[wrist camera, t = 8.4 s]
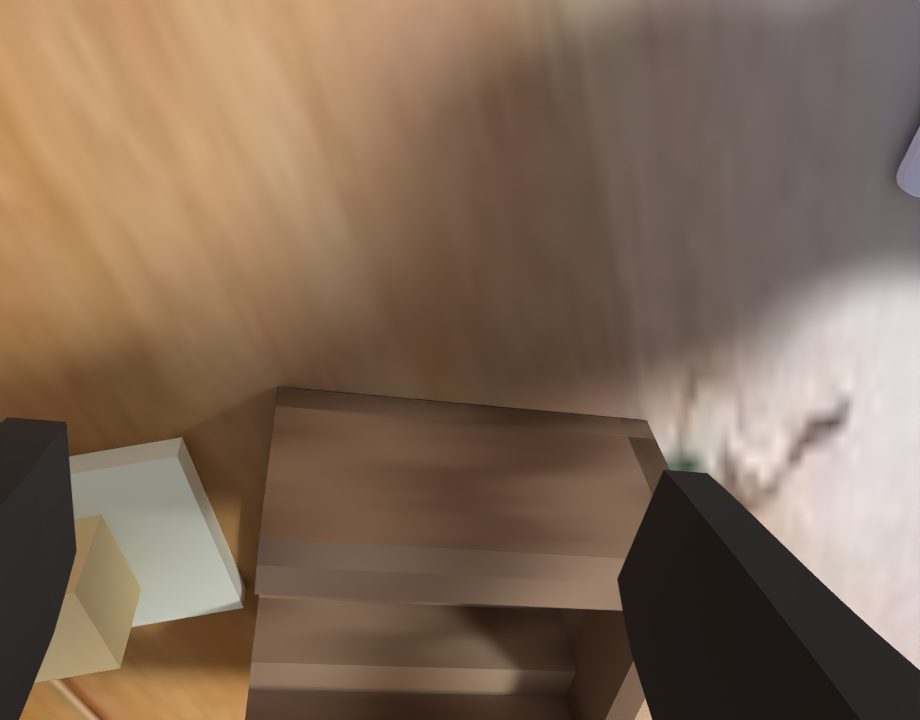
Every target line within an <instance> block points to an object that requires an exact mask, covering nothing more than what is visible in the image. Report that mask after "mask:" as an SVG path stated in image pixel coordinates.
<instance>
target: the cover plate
mask: <svg viewBox="0 0 920 720" xmlns="http://www.w3.org/2000/svg"><path fill="white" fill-rule="evenodd" d="M69 463H70V475H71V487H72V499H73V511H74V524H75V536H76V548H77V552H76V555H75V559H74V563H73V567H72V570H71V574H70V578H69V582H68V585H67V589H66V593H65V597H64V600H63V604H62V607H61V611H60V614H59V618H58V621H57V625H56V628H55V632H54V635H53V637H52V640H51V642H50V645H49V647H48V650H47V652H46V655H45V657H44V660H43V662H42V665H41V667H40V669H39V672H38V674H37V677H36V679H35V682H34V683H38V682H44V681H50V680H56V679H61V678H67V677H73V676H79V675H85V674H90V673H96V672H102V671H108V670H114V669H119V668H121V664H122V660H123V656H124V653H125V649H126V645H127V641H128V638H129V634H130V630H131V627H135V626H141V625H147V624H153V623H158V622H164V621H170V620H176V619H182V618H188V617H193V616H199V615H205V614H211V613H217V612H222V611H228V610H234V609H240V608H243V607H244V599H245V592H246V587H245V585H244V582H243V580H242V577H241V575H240V573H239V570H238V568H237V566H236V563H235V561H234V559H233V556H232V554H231V552H230V549H229V547H228V544H227V542H226V540H225V537H224V535H223V533H222V530H221V528H220V526H219V523H218V521H217V518H216V516H215V514H214V511H213V509H212V507H211V504H210V502H209V500H208V497H207V495H206V492H205V490H204V488H203V485H202V483H201V481H200V478H199V476H198V474H197V471H196V469H195V466H194V464H193V462H192V459H191V457H190V455H189V452H188V450H187V448H186V445H185V443H184V440H183V438H182V437H180V438H174V439H169V440H163V441H157V442H151V443H145V444H139V445H133V446H128V447H122V448H116V449H110V450H104V451H98V452H93V453H87V454H81V455H75V456H69Z"/></svg>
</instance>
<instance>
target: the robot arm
mask: <svg viewBox="0 0 920 720" xmlns="http://www.w3.org/2000/svg"><path fill="white" fill-rule="evenodd" d="M896 178H897V184H898V185H899V187H900V188H901V189H902V190H903V191H905V192H906V193H908V194H910V195H912V196H915V197H920V126H919V128H918V130H917V132H916V134H915V136H914V138H913V140H912V142H911V144H910V146H909V149H908V151H907V153H906V155H905V157H904V159H903V161H902V163H901V165H900V167H899V169H898V172H897V175H896ZM76 552H77V548H76V536H75V524H74V511H73V499H72V487H71V475H70V463H69V450H68V438H67V426H66V422H57V421H45V420H32V419H20V418H6V419H5V420H4V421H2V422H1V423H0V720H19V718H20V716H21V713H22V711H23V709H24V706H25V704H26V701H27V699H28V696H29V694H30V691H31V689H32V687H33V684H34V682H35V679H36V677H37V674H38V672H39V669H40V667H41V665H42V662H43V660H44V657H45V655H46V652H47V650H48V647H49V645H50V642H51V640H52V637H53V635H54V632H55V628H56V625H57V621H58V618H59V614H60V611H61V607H62V604H63V600H64V597H65V593H66V589H67V585H68V582H69V578H70V574H71V570H72V567H73V563H74V559H75V555H76ZM617 581H618V587H619V592H620V598H621V604H622V610H623V615H624V621H625V626H626V631H627V635H628V640H629V645H630V650H631V654H632V657H633V661H634V664H635V667H636V670H637V673H638V677H639V680H640V683H641V686H642V689H643V692H644V695H645V698H646V701H647V704H648V707H649V711H650V714H651V717H652V720H920V670H919V669H918V668H916V667H915V666H914V665H913V664H912V663H911V662H910V661H908V660H907V659H906V658H905V657H904V656H903V655H902V654H900V653H899V652H898V651H897V650H896V649H895V648H893V647H892V646H891V645H890V644H889V643H888V642H887V641H885V640H884V639H883V638H882V637H881V636H880V635H879V634H877V633H876V632H875V631H874V630H873V629H872V628H871V627H870V626H868V625H867V624H866V623H865V622H864V621H863V620H862V619H861V618H860V617H859V616H857V615H856V614H855V613H854V612H853V611H852V610H851V609H850V608H849V607H848V606H847V605H845V604H844V603H843V602H842V601H841V600H840V599H839V598H838V597H837V596H836V595H835V594H834V593H833V592H832V591H830V590H829V589H828V588H827V587H826V586H825V585H824V584H823V583H822V582H821V581H820V580H819V579H818V578H817V577H816V576H815V575H814V574H813V573H812V572H811V571H809V570H808V569H807V568H806V567H805V566H804V565H803V564H802V563H801V562H800V561H799V560H798V559H797V558H796V557H795V556H794V555H793V554H792V553H791V552H790V551H789V550H788V549H787V548H786V547H785V546H784V545H783V544H782V543H781V542H780V541H779V540H778V539H777V538H776V537H774V536H773V535H772V534H771V533H770V532H769V531H768V530H767V529H766V528H765V527H764V526H763V525H762V524H761V523H760V522H759V521H758V520H757V519H756V518H755V517H754V516H753V515H752V514H751V513H750V512H749V511H748V510H747V509H746V508H745V507H744V506H743V505H742V504H740V503H739V502H738V501H737V500H736V499H735V498H734V497H733V496H732V495H731V494H730V493H729V492H728V491H727V490H726V489H725V488H723V487H722V486H721V485H720V484H719V483H718V482H717V481H716V480H714V479H713V478H712V477H711V476H710V475H709V474H707V473H697V472H685V471H672V470H663V472H662V475H661V477H660V479H659V482H658V484H657V486H656V489H655V491H654V493H653V496H652V498H651V500H650V503H649V505H648V508H647V510H646V512H645V515H644V517H643V519H642V522H641V524H640V526H639V529H638V531H637V533H636V536H635V538H634V540H633V543H632V545H631V548H630V550H629V552H628V555H627V557H626V559H625V562H624V564H623V566H622V569H621V571H620V573H619V576H618V578H617Z"/></svg>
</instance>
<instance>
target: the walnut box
mask: <svg viewBox="0 0 920 720" xmlns="http://www.w3.org/2000/svg"><path fill="white" fill-rule="evenodd" d="M663 470H670V469H669V467H668V465H667V463H666V461H665V459H664V457H663V454H662V452H661V450H660V448H659V446H658V444H657V442H656V440H655V437H654V435H653V433H652V431H651V429H650V427H649V425H648V422H647V421H645V420H634V419H623V418H612V417H601V416H590V415H579V414H568V413H558V412H547V411H536V410H525V409H514V408H503V407H492V406H481V405H470V404H459V403H448V402H437V401H426V400H415V399H405V398H394V397H383V396H372V395H361V394H350V393H339V392H328V391H317V390H306V389H295V388H284V387H278V393H277V401H276V408H275V416H274V424H273V432H272V440H271V448H270V455H269V463H268V471H267V479H266V487H265V495H264V502H263V510H262V518H261V526H260V534H259V544H258V556H257V567H256V579H255V591H254V594H258V595H259V600H258V608H257V617H256V625H255V634H254V642H253V650H252V659H251V669H250V681H249V691H248V700H247V709H246V717H245V720H634V719H635V717H636V715H637V713H638V711H639V709H640V707H641V705H642V703H643V701H644V699H645V695H644V692H643V689H642V686H641V683H640V680H639V677H638V673H637V670H636V667H635V664H634V661H633V657H632V654H631V650H630V645H629V640H628V635H627V631H626V626H625V621H624V615H623V610H622V604H621V598H620V592H619V587H618V581H617V578H618V576H619V573H620V571H621V569H622V566H623V564H624V562H625V559H626V557H627V555H628V552H629V550H630V548H631V545H632V543H633V540H634V538H635V536H636V533H637V531H638V529H639V526H640V524H641V522H642V519H643V517H644V515H645V512H646V510H647V508H648V505H649V503H650V500H651V498H652V496H653V493H654V491H655V489H656V486H657V484H658V482H659V479H660V477H661V475H662V472H663Z"/></svg>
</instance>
